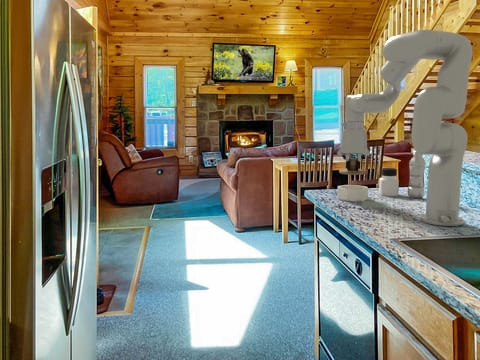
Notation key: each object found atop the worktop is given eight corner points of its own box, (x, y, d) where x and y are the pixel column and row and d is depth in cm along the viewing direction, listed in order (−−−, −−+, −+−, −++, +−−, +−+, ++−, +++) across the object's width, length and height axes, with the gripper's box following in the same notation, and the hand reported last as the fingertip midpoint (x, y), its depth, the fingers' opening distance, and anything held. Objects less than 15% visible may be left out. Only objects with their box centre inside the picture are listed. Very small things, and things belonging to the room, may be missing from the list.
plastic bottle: (420, 196, 172) (423, 150, 169) (426, 199, 165) (429, 151, 162) (405, 196, 173) (407, 150, 170) (410, 199, 166) (412, 151, 163)
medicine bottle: (398, 196, 173) (399, 169, 171) (380, 196, 174) (382, 168, 172) (395, 193, 180) (396, 167, 178) (378, 193, 181) (379, 166, 179)
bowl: (368, 202, 162) (369, 190, 161) (337, 201, 164) (338, 189, 163) (365, 196, 173) (366, 185, 172) (337, 196, 176) (337, 184, 175)
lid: (367, 175, 161) (368, 160, 160) (339, 174, 163) (339, 159, 162) (365, 171, 171) (365, 157, 170) (338, 170, 174) (339, 157, 173)
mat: (390, 208, 150) (390, 207, 150) (362, 207, 153) (362, 206, 152) (386, 202, 160) (387, 202, 160) (360, 202, 162) (360, 201, 162)
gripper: (333, 126, 162) (332, 171, 165) (376, 126, 159) (374, 172, 162) (333, 125, 170) (332, 169, 172) (374, 125, 166) (372, 169, 169)
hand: (352, 170), depth 167 cm, fingers closed on lid, 3 cm apart
